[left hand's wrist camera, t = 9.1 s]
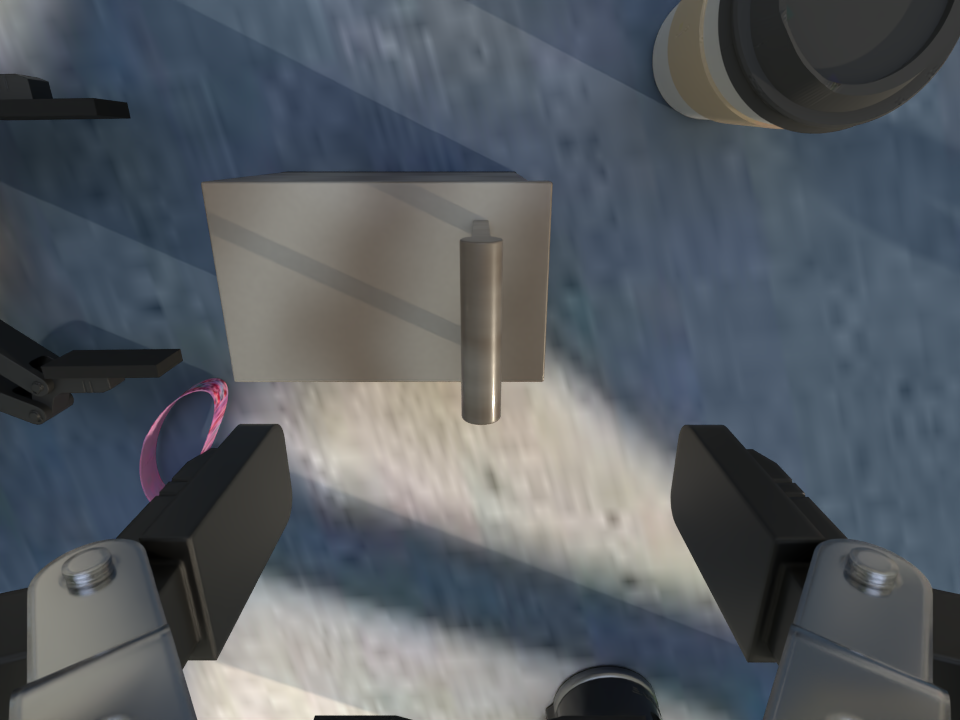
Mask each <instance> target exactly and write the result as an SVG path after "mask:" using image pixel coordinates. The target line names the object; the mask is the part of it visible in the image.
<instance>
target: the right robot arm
mask: <svg viewBox="0 0 960 720" xmlns="http://www.w3.org/2000/svg"><path fill="white" fill-rule="evenodd" d="M122 118H130V114H129V109H128V105H127V103H126V102H118V101H111V100H103V99H96V98H70V99H53V98H52V94H51V90H50V86H49V82H48V81H45V80H42V79H40V78H37V77H31V76H25V75H19V74H0V120H55V119H122ZM181 361H183V359H182V355H181V350H180V349H140V350H73V351H71V352H69V353H67V354H65V355H63V356H61V357H58V356H57V355H55V354H54V353H52V352H51V351H49V350H47V349H46V348H44V347H43V346H41V345H39V344H38V343H36V342H35V341H33V340H32V339H30V338H28V337H27V336H25V335H24V334H22V333H21V332H19V331H17V330H16V329H14V328H13V327H11V326H9V325H8V324H6V323H5V322H3V321H2V320H0V411H1V412H4V413H6V414H9V415H12V416H14V417H17V418H20V419H22V420H25V421H28V422H30V423H33V424H37V425H38V424H42V423H44V422H46V421H47V420H49V419H50V418H52V417H54V416H55V415H57V414H58V413H60V412H62V411H63V410H65V409H66V408H68V407H70V406H71V405H72V404H73V402H74V398H73V396H72V395H71V394H70V393H86V392H87V393H92V392H94V393H97V392H105V391H108V390H110V389H112V388H113V387H115V386H116V385H118V384H119V383H121V382H123V381H124V380H125V378H150V377H160V376H162V375H163V374H164V373H166V372H167V371H169V370H170V369H172V368H173V367H174V366H176V365H177V364H179V363H180V362H181Z"/></svg>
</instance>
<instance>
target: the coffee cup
mask: <svg viewBox="0 0 960 720" xmlns="http://www.w3.org/2000/svg"><path fill="white" fill-rule="evenodd" d="M959 37H960V0H681V1H680V3H679V4H678V5H677V6H676V7H675V8H674V9H673V10H672V11H671V12H670V13H669V15H668V16H667V17H666V19H665V20H664V22H663V24H662V26H661V28H660V30H659V32H658V35H657V37H656V41H655V44H654V49H653V73H654V78H655V82H656V85H657V87H658V89H659V91H660V93H661V95H662V97H663V98H664V99H665V101H666V102H667V103H668V104H669V105H670V106H671V107H672V108H673V109H675V110H676V111H678V112H679V113H681V114H683V115H685V116H688V117H691V118H696V119H706V120H713V121H716V122H720V123H727V124H736V125H746V126H755V127H764V128H774V129H786V130H790V131H794V132H800V133H828V132H834V131H839V130H843V129H847V128H850V127H853V126H856V125H859V124H863V123H866V122H869V121H872V120H875V119H877V118H879V117H882V116H884V115H886V114H888V113H890V112H891V111H893V110H895V109H896V108H898V107H900V106H901V105H903V104H904V103H905V102H907V101H908V100H909V99H911V98H912V97H913V96H914V95H916V94H917V93H918V92H919V91H920V90H921V89H922V88H923V87H924V86H925V85H926V84H927V83H928V82H929V81H930V80H931V79H932V78H933V77H934V75H935V74H936V73H937V72H938V70H939V69H940V68H941V67H942V65H943V64H944V62H945V61H946V59H947V58H948V56H949V55H950V53H951V52H952V50H953V48H954V46H955V45H956V43H957V41H958V39H959Z"/></svg>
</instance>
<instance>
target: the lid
mask: <svg viewBox="0 0 960 720" xmlns="http://www.w3.org/2000/svg"><path fill="white" fill-rule="evenodd" d="M201 186H202V192H203V198H204V204H205V210H206V216H207V222H208V228H209V234H210V240H211V246H212V251H213V257H214V263H215V269H216V275H217V281H218V287H219V293H220V299H221V305H222V311H223V316H224V322H225V328H226V334H227V340H228V346H229V352H230V358H231V364H232V370H233V376H234V381H235V382H461V395H462V418H463V419H464V420H465V421H466V422H468V423H471V424H476V425H486V424H491V423H494V422H496V421H498V420H499V418H500V416H501V382H542V381H544V365H545V342H546V319H547V297H548V274H549V251H550V228H551V206H552V182H550V181H206V182H202V183H201Z"/></svg>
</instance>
